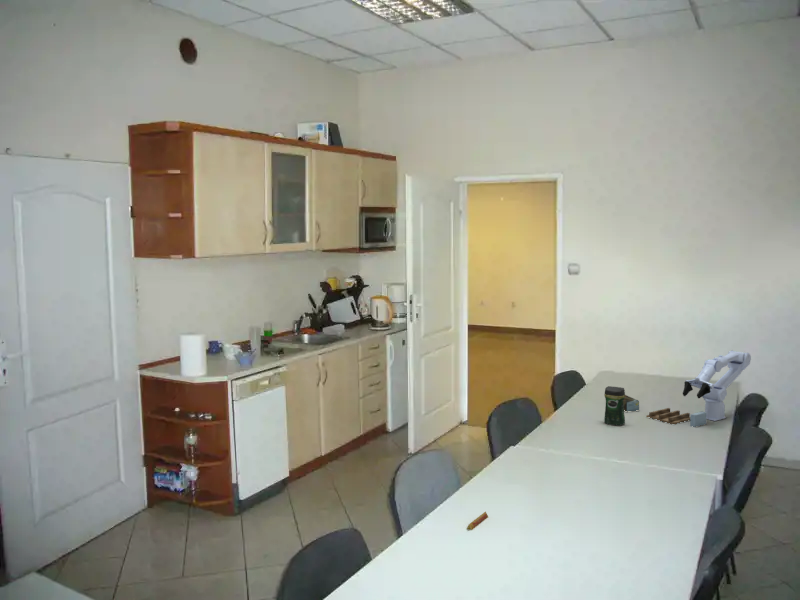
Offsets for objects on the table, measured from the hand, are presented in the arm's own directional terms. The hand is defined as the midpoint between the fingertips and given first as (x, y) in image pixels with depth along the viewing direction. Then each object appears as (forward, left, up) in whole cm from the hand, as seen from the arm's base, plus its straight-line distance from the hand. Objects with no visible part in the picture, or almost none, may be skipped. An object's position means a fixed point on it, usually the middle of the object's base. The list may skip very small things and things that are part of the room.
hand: (690, 395), depth 333 cm
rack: (-2, -13, -15) cm, 20 cm away
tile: (-4, +2, -15) cm, 16 cm away
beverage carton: (-1, -41, -15) cm, 44 cm away
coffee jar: (+27, -23, -15) cm, 39 cm away
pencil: (+154, +29, -16) cm, 157 cm away
